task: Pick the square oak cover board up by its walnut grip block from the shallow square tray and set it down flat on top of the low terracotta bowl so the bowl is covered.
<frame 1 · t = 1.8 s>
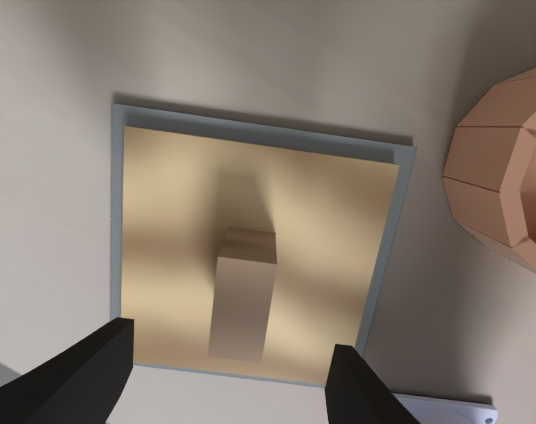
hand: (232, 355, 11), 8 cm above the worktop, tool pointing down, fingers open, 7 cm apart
cover board: (244, 285, 16), on the shallow square tray
shallow square tray: (248, 262, 19), on the worktop
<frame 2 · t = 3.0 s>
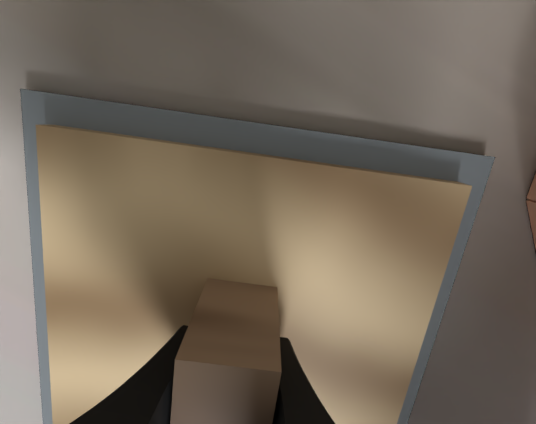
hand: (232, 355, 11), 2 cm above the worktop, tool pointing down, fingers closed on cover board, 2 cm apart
cover board: (229, 374, 10), on the shallow square tray, touching gripper
shallow square tray: (238, 321, 13), on the worktop
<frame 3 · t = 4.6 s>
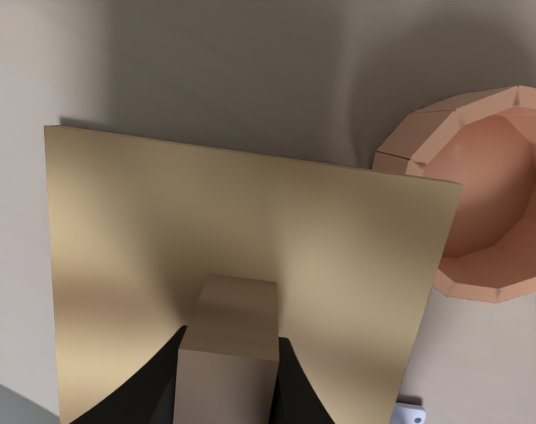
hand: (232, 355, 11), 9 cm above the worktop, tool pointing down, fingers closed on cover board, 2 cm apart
terracotta bowl: (451, 186, 19), on the worktop
cover board: (230, 365, 11), point 10 cm above the worktop, touching gripper
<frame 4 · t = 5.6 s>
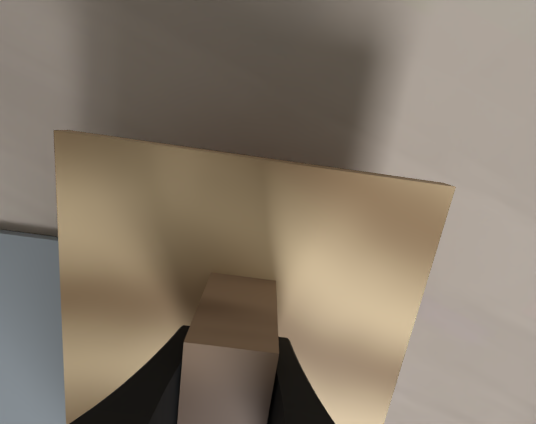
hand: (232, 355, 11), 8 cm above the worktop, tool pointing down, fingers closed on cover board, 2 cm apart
cover board: (231, 360, 11), point 8 cm above the worktop, touching gripper
shallow square tray: (5, 343, 20), on the worktop
when the fingers open (7 cm above the worktop, at t = 6.3 s): cover board stays where it is, resting on terracotta bowl.
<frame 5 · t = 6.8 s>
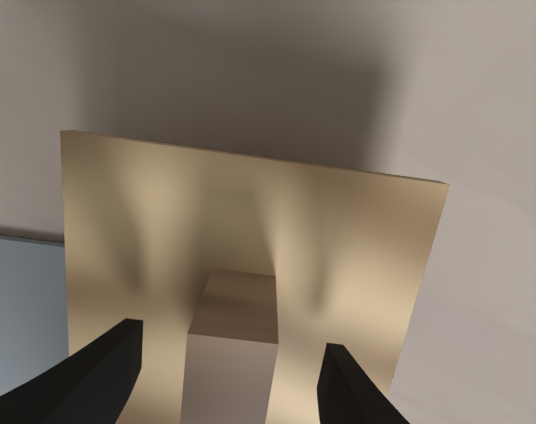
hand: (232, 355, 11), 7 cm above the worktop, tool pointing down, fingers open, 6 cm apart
cover board: (233, 353, 11), on the terracotta bowl, point 7 cm above the worktop
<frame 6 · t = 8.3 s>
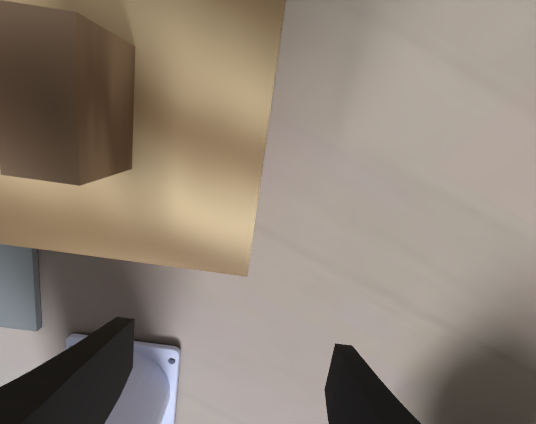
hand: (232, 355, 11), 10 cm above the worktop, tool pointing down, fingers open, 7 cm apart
cover board: (82, 103, 12), on the terracotta bowl, point 7 cm above the worktop
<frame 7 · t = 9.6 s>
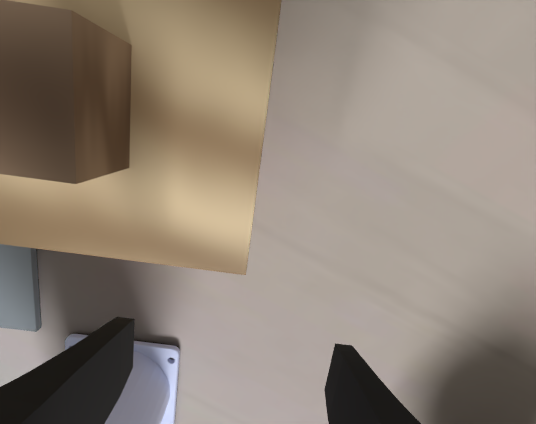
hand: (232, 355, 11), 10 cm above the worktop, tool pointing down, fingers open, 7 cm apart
cover board: (78, 102, 12), on the terracotta bowl, point 7 cm above the worktop
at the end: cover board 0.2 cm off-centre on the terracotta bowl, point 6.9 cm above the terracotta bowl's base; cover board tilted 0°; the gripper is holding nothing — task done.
